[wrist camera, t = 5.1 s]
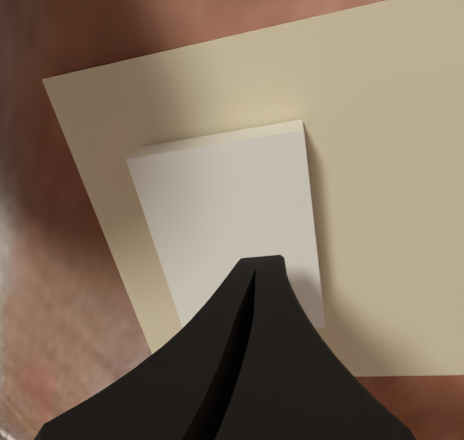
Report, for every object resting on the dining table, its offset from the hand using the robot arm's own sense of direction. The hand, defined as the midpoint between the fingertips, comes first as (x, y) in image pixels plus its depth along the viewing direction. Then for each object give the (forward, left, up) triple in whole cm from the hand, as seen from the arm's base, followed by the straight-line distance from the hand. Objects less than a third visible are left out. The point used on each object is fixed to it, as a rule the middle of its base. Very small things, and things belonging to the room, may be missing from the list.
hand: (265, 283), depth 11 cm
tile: (-2, 0, -3) cm, 3 cm away
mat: (-2, +1, -5) cm, 5 cm away
